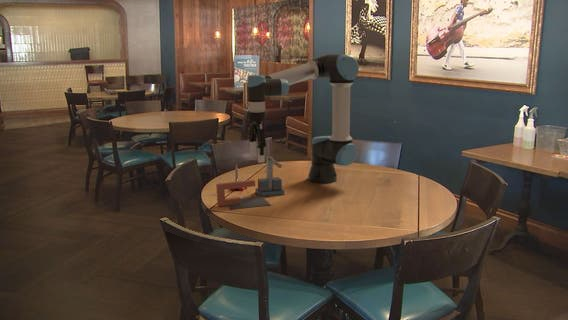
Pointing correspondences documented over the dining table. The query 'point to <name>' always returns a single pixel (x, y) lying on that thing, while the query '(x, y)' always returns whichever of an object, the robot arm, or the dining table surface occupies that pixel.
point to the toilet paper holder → (270, 181)
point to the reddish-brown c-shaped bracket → (231, 185)
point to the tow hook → (237, 180)
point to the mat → (250, 203)
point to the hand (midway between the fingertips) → (257, 159)
